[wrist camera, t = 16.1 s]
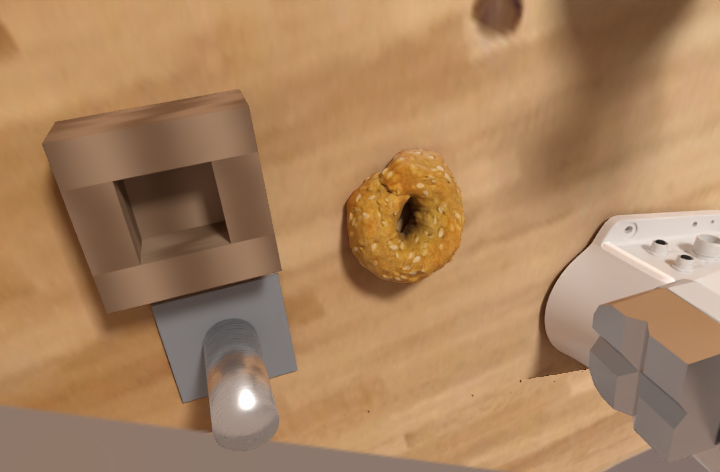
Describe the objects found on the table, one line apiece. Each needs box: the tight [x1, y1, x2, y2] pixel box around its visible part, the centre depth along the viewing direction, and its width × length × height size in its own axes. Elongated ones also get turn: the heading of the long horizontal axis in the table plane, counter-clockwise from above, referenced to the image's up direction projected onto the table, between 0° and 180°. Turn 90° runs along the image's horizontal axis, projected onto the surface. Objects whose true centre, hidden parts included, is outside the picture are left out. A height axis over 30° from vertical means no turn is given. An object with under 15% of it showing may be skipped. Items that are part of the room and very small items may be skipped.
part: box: [203, 318, 279, 451], centre depth 44 cm, size 4×4×10 cm
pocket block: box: [42, 90, 282, 314], centre depth 40 cm, size 12×12×5 cm
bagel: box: [346, 149, 465, 283], centre depth 46 cm, size 10×11×5 cm
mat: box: [151, 273, 297, 403], centre depth 48 cm, size 10×10×1 cm
